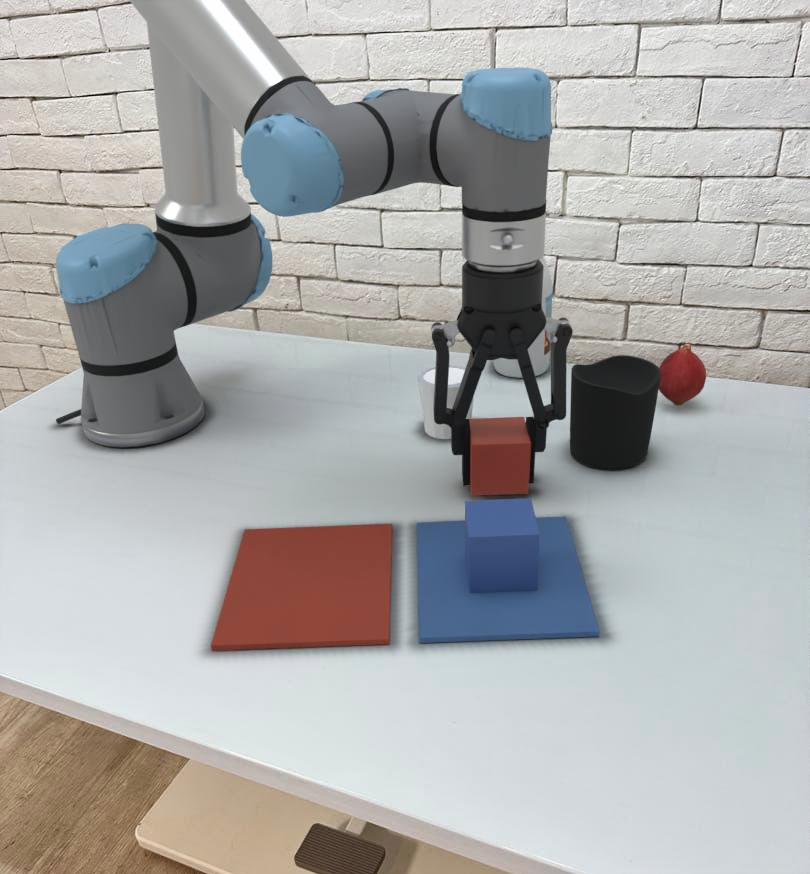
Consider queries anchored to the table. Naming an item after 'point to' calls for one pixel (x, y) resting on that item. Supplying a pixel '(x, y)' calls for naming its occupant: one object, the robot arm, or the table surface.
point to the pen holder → (613, 411)
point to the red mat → (308, 588)
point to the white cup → (427, 399)
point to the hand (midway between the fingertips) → (497, 478)
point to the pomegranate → (682, 375)
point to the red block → (499, 456)
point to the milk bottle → (541, 345)
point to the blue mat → (500, 611)
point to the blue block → (501, 545)
